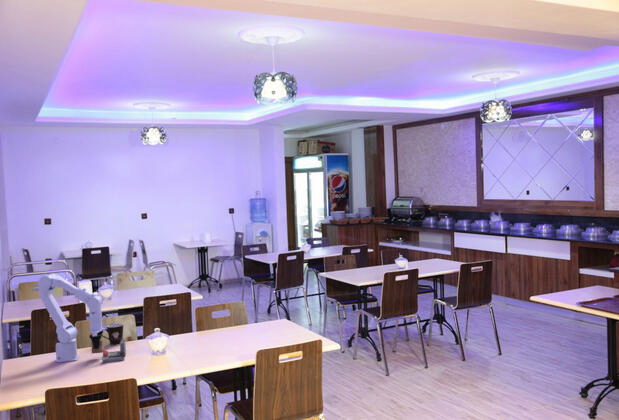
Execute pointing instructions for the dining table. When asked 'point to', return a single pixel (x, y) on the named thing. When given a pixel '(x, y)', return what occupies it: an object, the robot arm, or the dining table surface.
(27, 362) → the dining table surface
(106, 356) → the lever
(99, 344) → the housing block
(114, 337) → the coffee mug
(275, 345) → the dining table surface
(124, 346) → the press bed
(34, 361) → the dining table surface
